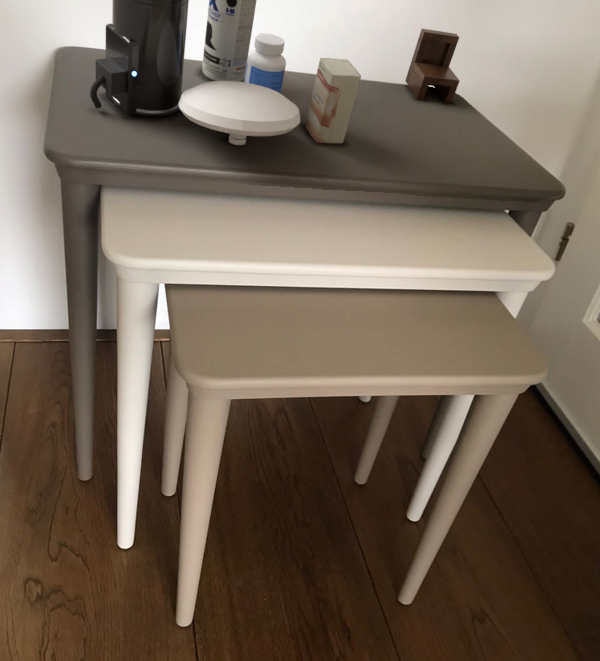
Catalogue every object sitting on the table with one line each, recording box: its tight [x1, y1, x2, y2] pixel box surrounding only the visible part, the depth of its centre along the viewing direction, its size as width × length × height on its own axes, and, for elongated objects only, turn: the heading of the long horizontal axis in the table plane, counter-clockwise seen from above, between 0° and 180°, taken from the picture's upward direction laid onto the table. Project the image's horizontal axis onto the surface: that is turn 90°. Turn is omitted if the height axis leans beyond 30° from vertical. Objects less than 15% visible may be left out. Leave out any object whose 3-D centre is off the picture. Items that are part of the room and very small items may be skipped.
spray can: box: [201, 0, 257, 82], centre depth 96 cm, size 7×7×20 cm
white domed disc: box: [178, 80, 301, 146], centre depth 86 cm, size 16×16×7 cm
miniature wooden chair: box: [404, 28, 460, 104], centre depth 112 cm, size 6×7×9 cm
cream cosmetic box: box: [304, 57, 362, 144], centre depth 92 cm, size 5×4×10 cm
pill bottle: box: [243, 32, 287, 95], centre depth 94 cm, size 6×5×10 cm
